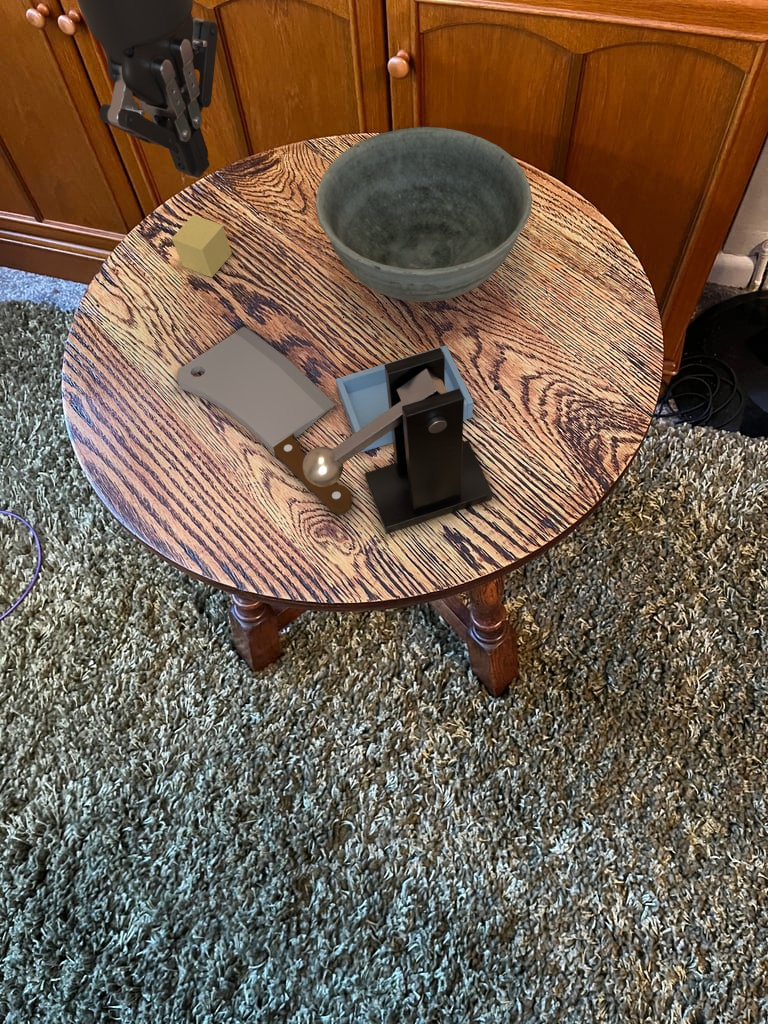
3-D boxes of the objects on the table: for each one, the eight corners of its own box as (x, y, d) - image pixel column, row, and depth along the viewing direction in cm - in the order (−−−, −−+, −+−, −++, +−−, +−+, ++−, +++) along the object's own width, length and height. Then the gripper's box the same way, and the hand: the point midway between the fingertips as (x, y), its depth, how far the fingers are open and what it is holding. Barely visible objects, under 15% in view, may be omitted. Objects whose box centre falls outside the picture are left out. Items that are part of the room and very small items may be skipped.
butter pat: (211, 277, 84) (201, 249, 80) (182, 266, 85) (171, 238, 81) (232, 253, 85) (223, 224, 82) (203, 243, 86) (193, 214, 83)
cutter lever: (325, 498, 62) (300, 488, 59) (314, 467, 63) (290, 455, 61) (457, 409, 57) (436, 393, 55) (442, 377, 59) (421, 360, 56)
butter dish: (360, 453, 72) (357, 438, 70) (338, 394, 75) (335, 378, 73) (472, 417, 73) (473, 401, 71) (446, 361, 76) (446, 344, 74)
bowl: (289, 291, 82) (270, 215, 73) (404, 178, 89) (399, 96, 80) (451, 377, 75) (451, 305, 66) (561, 247, 82) (575, 166, 73)
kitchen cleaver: (405, 462, 70) (320, 527, 67) (405, 468, 71) (321, 532, 68) (247, 319, 80) (166, 370, 77) (249, 327, 81) (169, 377, 78)
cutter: (385, 534, 68) (370, 434, 54) (365, 479, 70) (345, 370, 56) (492, 499, 68) (504, 392, 55) (468, 446, 71) (473, 331, 57)
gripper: (127, -116, 54) (200, 112, 69) (8, -11, 48) (115, 211, 64) (218, -100, 52) (272, 132, 67) (103, 12, 46) (190, 234, 62)
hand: (195, 170), depth 65 cm, fingers closed
